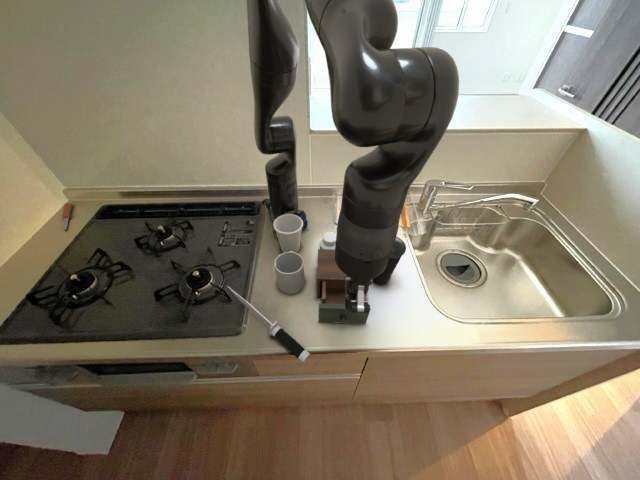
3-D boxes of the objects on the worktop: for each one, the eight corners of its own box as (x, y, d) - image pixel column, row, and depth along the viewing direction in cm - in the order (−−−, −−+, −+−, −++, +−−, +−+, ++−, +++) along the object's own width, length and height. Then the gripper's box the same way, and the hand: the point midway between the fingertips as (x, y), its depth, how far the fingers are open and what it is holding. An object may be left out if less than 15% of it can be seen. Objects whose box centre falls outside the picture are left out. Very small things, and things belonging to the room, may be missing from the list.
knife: (308, 357, 58) (311, 349, 54) (301, 366, 56) (304, 359, 52) (232, 288, 66) (230, 277, 62) (224, 295, 64) (221, 284, 61)
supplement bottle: (336, 268, 74) (338, 245, 67) (317, 265, 75) (318, 242, 68) (338, 254, 78) (341, 231, 71) (321, 251, 78) (322, 228, 71)
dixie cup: (307, 240, 81) (306, 216, 74) (298, 260, 76) (297, 236, 68) (282, 235, 83) (279, 211, 76) (272, 254, 77) (268, 229, 70)
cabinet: (364, 299, 67) (370, 280, 61) (316, 298, 67) (317, 278, 61) (361, 270, 74) (365, 250, 67) (317, 269, 74) (318, 249, 67)
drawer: (366, 328, 60) (371, 314, 55) (318, 327, 60) (318, 313, 55) (362, 293, 67) (366, 278, 62) (319, 292, 67) (319, 276, 62)
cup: (276, 294, 67) (272, 273, 61) (280, 264, 74) (277, 243, 68) (303, 295, 67) (302, 274, 61) (305, 265, 74) (304, 244, 68)
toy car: (271, 221, 78) (281, 233, 76) (303, 207, 84) (313, 217, 81) (272, 234, 83) (281, 245, 80) (302, 219, 88) (312, 229, 86)
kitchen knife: (73, 204, 92) (66, 206, 91) (70, 201, 91) (63, 203, 90) (70, 230, 82) (62, 232, 82) (67, 227, 81) (59, 229, 81)
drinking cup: (387, 266, 75) (405, 213, 61) (397, 287, 70) (419, 235, 55) (362, 269, 74) (374, 216, 60) (370, 291, 69) (386, 239, 54)
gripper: (335, 204, 38) (329, 275, 51) (337, 276, 29) (330, 341, 41) (385, 206, 38) (367, 276, 51) (404, 278, 29) (376, 342, 41)
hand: (351, 305), depth 46 cm, fingers closed
